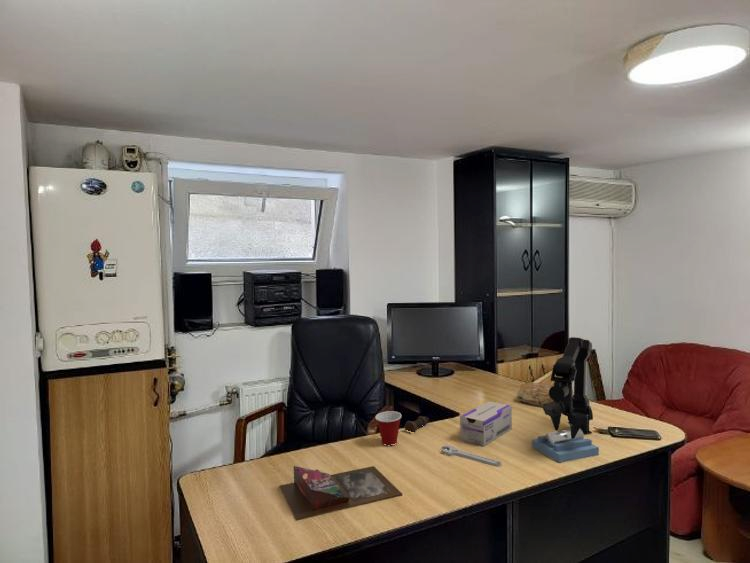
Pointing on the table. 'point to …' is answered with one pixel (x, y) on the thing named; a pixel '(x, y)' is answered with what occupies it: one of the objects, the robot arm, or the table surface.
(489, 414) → the surgical sutures box
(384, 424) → the plastic cup
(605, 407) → the table surface
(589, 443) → the cradle
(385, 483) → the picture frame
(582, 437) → the axle
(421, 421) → the bolt
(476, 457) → the adjustable wrench
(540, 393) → the petrified wood
